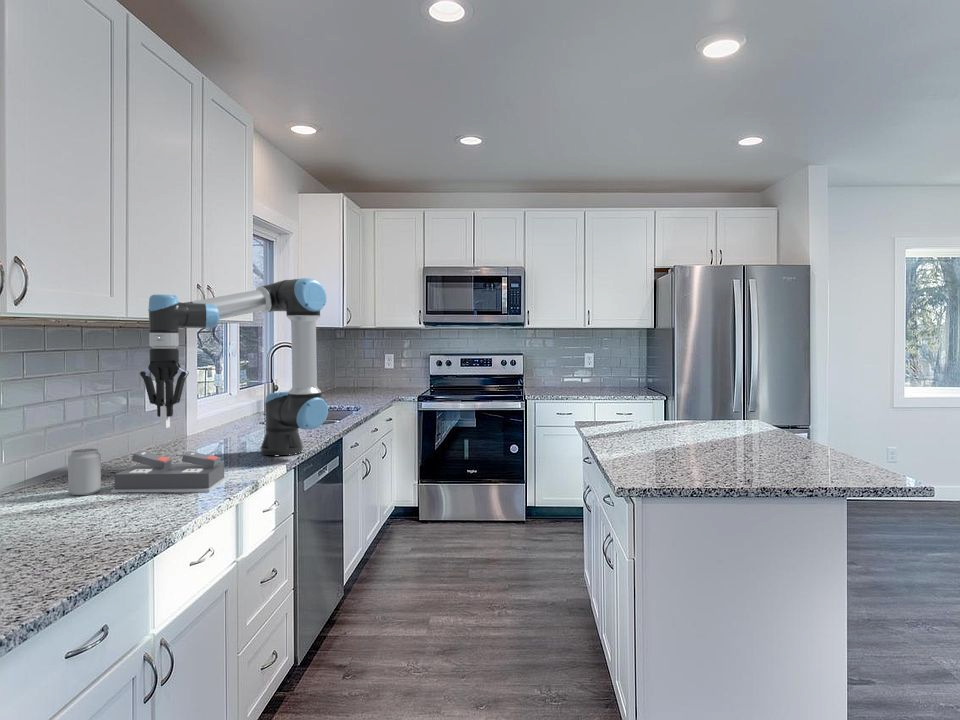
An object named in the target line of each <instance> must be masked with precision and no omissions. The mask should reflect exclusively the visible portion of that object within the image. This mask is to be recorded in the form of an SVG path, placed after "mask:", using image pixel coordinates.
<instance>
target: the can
mask: <svg viewBox="0 0 960 720" xmlns="http://www.w3.org/2000/svg"><path fill="white" fill-rule="evenodd" d="M98 451H99V449H97V448H80V449H79V448H78V449H73V450H71V451H70V455H69V456H68V457H67V481H68V486H67V489H68V491H67V492H68V494H71V495H72V496H73V495H86V496H90V495H89V494H92V495H95V494H97V493H98V492H99V491H100V490H102V455H101V453H100V452H98ZM96 492H97V493H96ZM94 493H95V494H94Z"/></svg>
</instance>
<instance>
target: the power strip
mask: <svg viewBox="0 0 960 720" xmlns="http://www.w3.org/2000/svg"><path fill="white" fill-rule="evenodd" d="M226 479H227V480H228V475H227V476H225V463H219V464H218V465H217V466H215V467H214V468H212V467H207V466H202V465H197V464H192V463H171V465H170V466H168V467H166V468H164V469H160V468H156V467H152V466H149V465H145V464H142V463H137V464H135V465H133V466H130V467H128V468H126V469H124V470H122V471H119V472H117V473H115V474H114V488H113V489H111V490H110V493H111V494H119V493H118V492H174V493H211V492H212V491H213V490H215V487H216V488H217V487H219V486H220V485H221V484H222V483H224V482H225V481H227V480H226ZM224 480H225V481H224ZM223 481H224V482H223ZM219 484H220V485H219ZM211 490H212V491H211Z"/></svg>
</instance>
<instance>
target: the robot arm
mask: <svg viewBox="0 0 960 720" xmlns="http://www.w3.org/2000/svg"><path fill="white" fill-rule="evenodd" d="M327 299H328V298H327V293H326V289H325V288H324V286H323V285H322V284H321V283H320V282H319V281H318V280H316V279H314V278H305V277H303V278H296V279H294V278H293V279H283V280H280V281H276V282H274V283H270V284H265V285H260V286H258V287H256V289H254V290H249V291H243V292H237V293H232V294H225V295H222V296H214V297H210V298H209V297H208V298H202V299H199V300H198V299H197V300H196V299H195V300H192V301H186V302H180V301H179V298H178V296H177V295H176V294H174V295H173V294H152V295H150V297H149V298H148V322H149V323H148V324H149V325H148V328H149V337H148V338H149V347H151V348H149V365H148V368H146V369H145V370H144V371H140V372H139V374H140V377H141V378H142V379H143V382H144V387H145V389H146V392H147V397H148V400H149V403H150V404H152V405H155V406H156V410H157V411H156V413H157V417H160V429H168V428H171V417H173V415H174V405H175V404H179V403H180V402H181V398H182V395H183V390H184V386H185V382H186V379H187V377H188V375H189V373H190V372H189V371H188V370H184V369H182V368H181V365H180V362H179V361H180V358H179V357H180V355H179V353H180V352H179V348H177V347H179V345H180V341H179V333H180V332H179V329H187V328H188V329H213V328H215V327H217V325H219V322H220V320H224V319H228V318H231V317H232V318H233V317H237V316H242V315H246V314H252V313H257V312H261V313H264V314H266V313H271V312H285V313H286V317H287V318H288V319H289V320H290V330H291V331H290V332H291V334H290V335H291V336H290V338H291V388H290V390H289V391H281V392H280V391H279V392H278V391H277V392H271V393H267V394H266V397H265V404H264V405H265V434H264V436H263V440H262V442H261V446H260V454H261V455H262V454H263V455H262V456H266V455H289V454H295V453H299V452H301V451H302V450H303V451H304V446H303V445H304V444H303V442H302V438H301V436H300V433H299V429H301V430H304V431H305V430H310V431H311V430H316V429H318V428H320V427H321V426H322V425H323V423H324V422H326V420H327V418H328V415H329V406H328V403H327V402H326V401H325V400H324V399H323V398H322V391H321V389H320V388H319V387H318V380H317V379H318V372H317V371H318V369H317V359H318V357H317V321H318V320H319V318H320V317H321V310H322V309H324V306H325V305H326V304H327ZM152 375H153V377H154V378H155V379H154V381H155V384H154V381H153V378H152ZM176 376H178V377H177V381H176V384H175V388H174V381H175V377H176ZM289 456H290V455H289Z"/></svg>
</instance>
